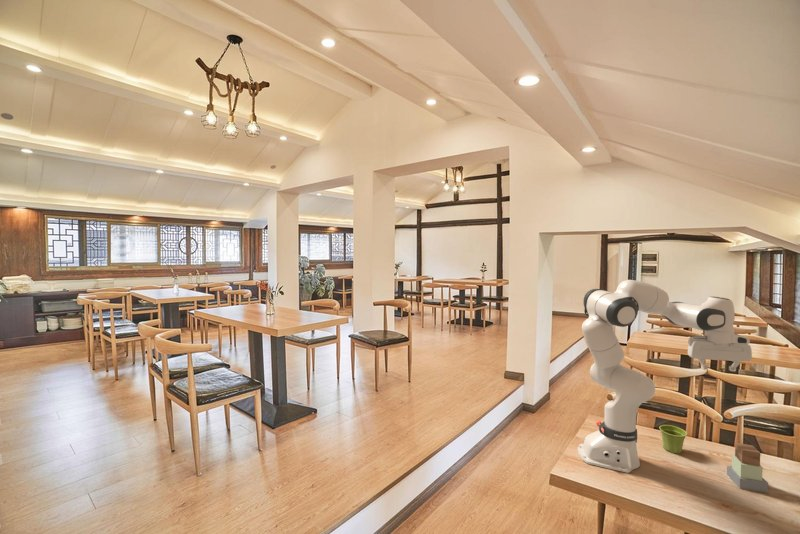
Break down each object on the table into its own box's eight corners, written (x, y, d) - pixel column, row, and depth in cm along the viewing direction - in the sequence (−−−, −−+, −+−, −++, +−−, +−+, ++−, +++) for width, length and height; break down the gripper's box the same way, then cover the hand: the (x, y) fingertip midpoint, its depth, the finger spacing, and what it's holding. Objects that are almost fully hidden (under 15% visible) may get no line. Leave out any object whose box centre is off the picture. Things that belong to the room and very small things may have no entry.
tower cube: (740, 477, 128) (741, 464, 128) (731, 467, 133) (732, 455, 133) (762, 481, 126) (762, 467, 125) (752, 471, 131) (752, 458, 131)
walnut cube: (734, 455, 133) (735, 442, 132) (752, 458, 131) (752, 445, 131) (741, 463, 128) (742, 449, 128) (759, 466, 126) (760, 452, 126)
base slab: (739, 489, 127) (740, 478, 127) (726, 475, 135) (727, 465, 135) (767, 493, 125) (768, 482, 125) (753, 479, 133) (753, 469, 132)
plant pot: (691, 457, 147) (692, 436, 146) (666, 455, 148) (666, 434, 148) (678, 444, 156) (679, 425, 155) (654, 443, 158) (655, 424, 157)
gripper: (692, 337, 143) (691, 370, 143) (755, 339, 137) (754, 374, 138) (684, 333, 149) (684, 365, 149) (744, 335, 143) (743, 369, 144)
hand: (718, 370), depth 143 cm, fingers open, 8 cm apart
